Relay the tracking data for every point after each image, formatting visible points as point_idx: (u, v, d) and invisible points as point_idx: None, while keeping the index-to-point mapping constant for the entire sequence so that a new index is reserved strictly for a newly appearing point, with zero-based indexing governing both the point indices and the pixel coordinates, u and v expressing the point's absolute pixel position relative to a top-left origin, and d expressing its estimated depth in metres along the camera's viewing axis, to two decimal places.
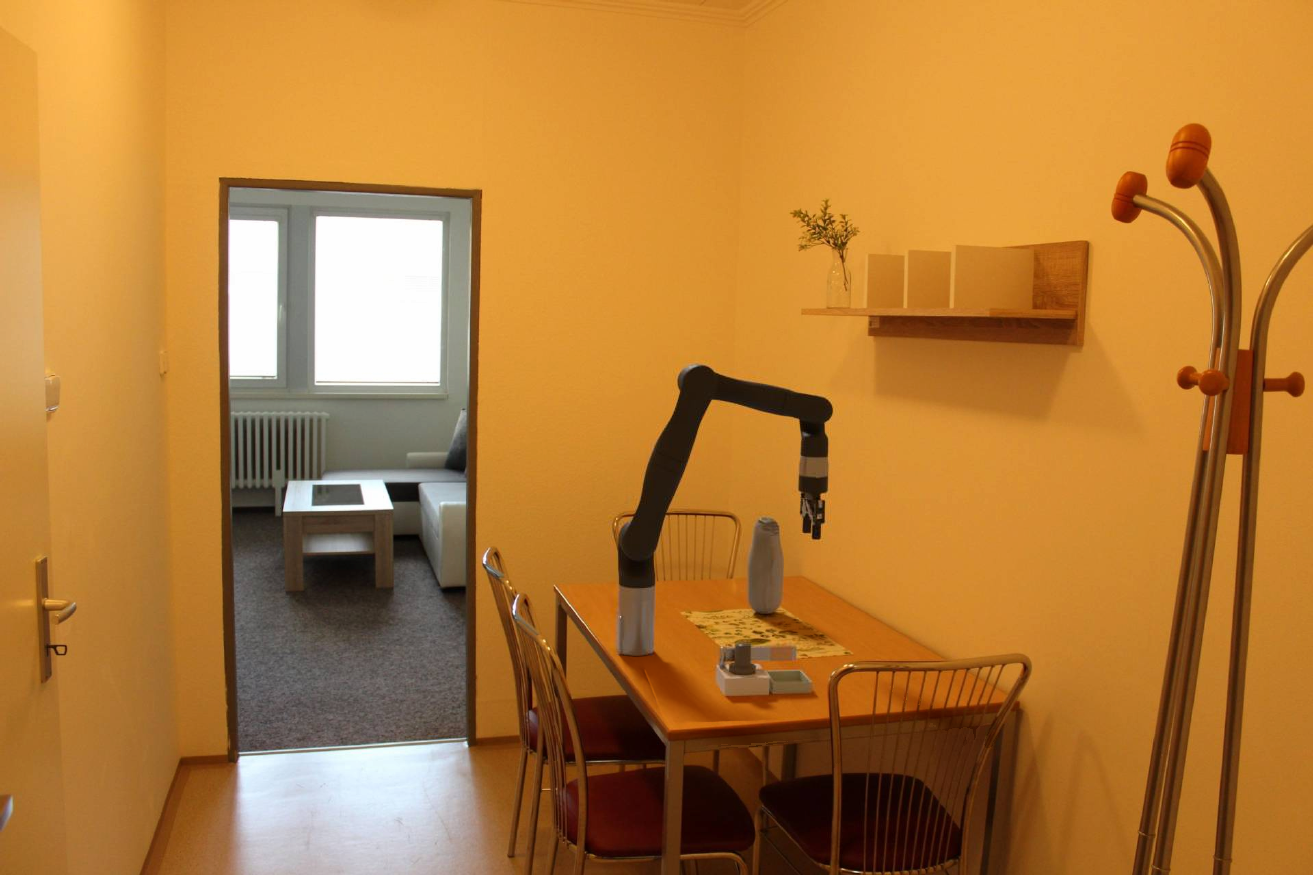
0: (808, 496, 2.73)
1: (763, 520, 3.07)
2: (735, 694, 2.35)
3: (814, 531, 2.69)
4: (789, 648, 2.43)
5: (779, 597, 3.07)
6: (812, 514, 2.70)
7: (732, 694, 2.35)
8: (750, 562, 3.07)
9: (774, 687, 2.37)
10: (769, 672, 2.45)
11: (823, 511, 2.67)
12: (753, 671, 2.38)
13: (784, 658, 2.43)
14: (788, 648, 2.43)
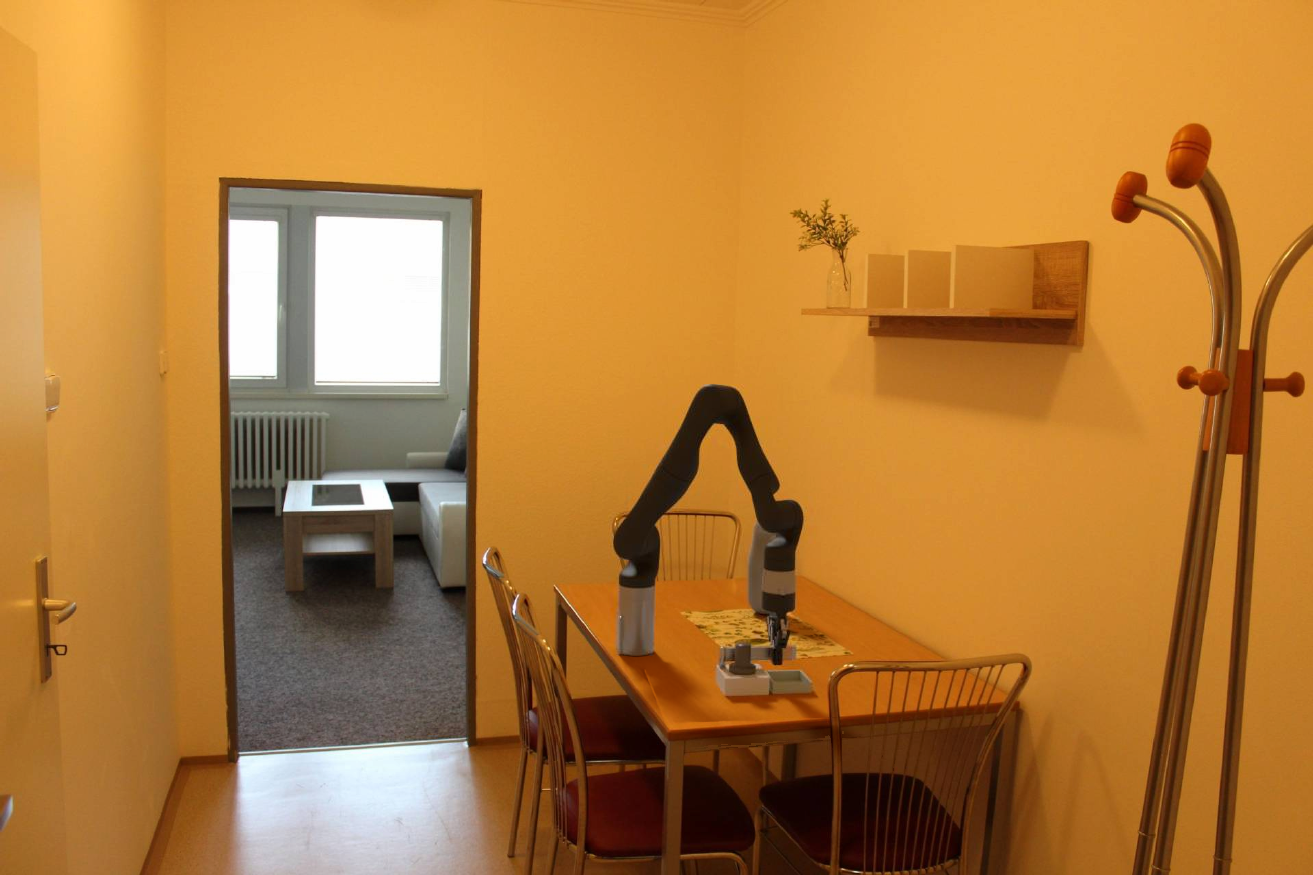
0: (773, 614, 2.40)
1: None
2: (735, 694, 2.35)
3: (775, 656, 2.40)
4: (789, 648, 2.44)
5: None
6: (774, 639, 2.39)
7: (732, 694, 2.35)
8: (750, 562, 3.07)
9: (774, 687, 2.37)
10: (769, 672, 2.45)
11: (786, 641, 2.36)
12: (753, 671, 2.38)
13: (784, 658, 2.44)
14: (788, 648, 2.44)
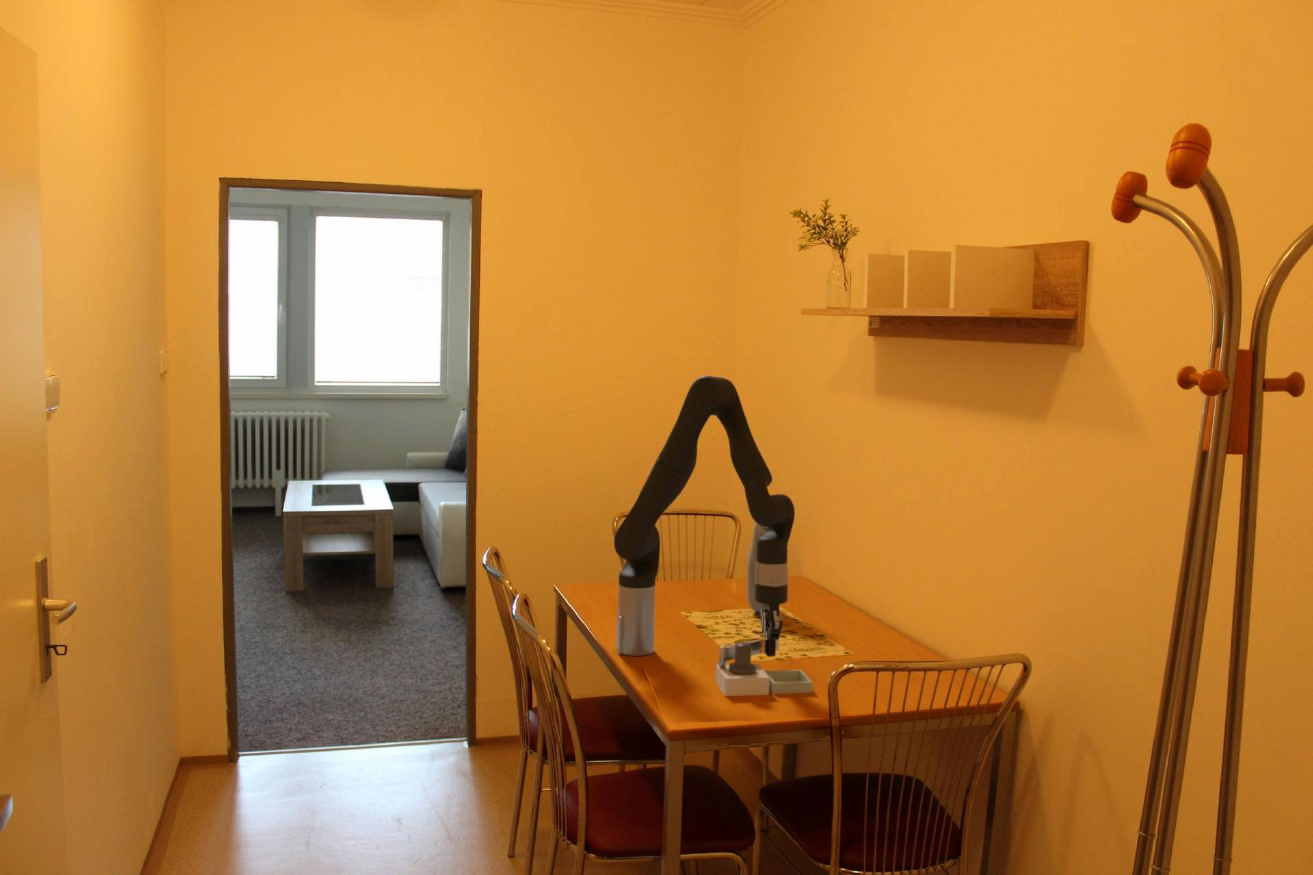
0: (766, 606, 2.46)
1: None
2: (735, 694, 2.35)
3: (768, 647, 2.46)
4: None
5: None
6: (767, 630, 2.45)
7: (732, 694, 2.35)
8: (750, 562, 3.07)
9: (774, 687, 2.37)
10: (769, 672, 2.45)
11: (779, 632, 2.42)
12: (753, 671, 2.38)
13: None
14: None
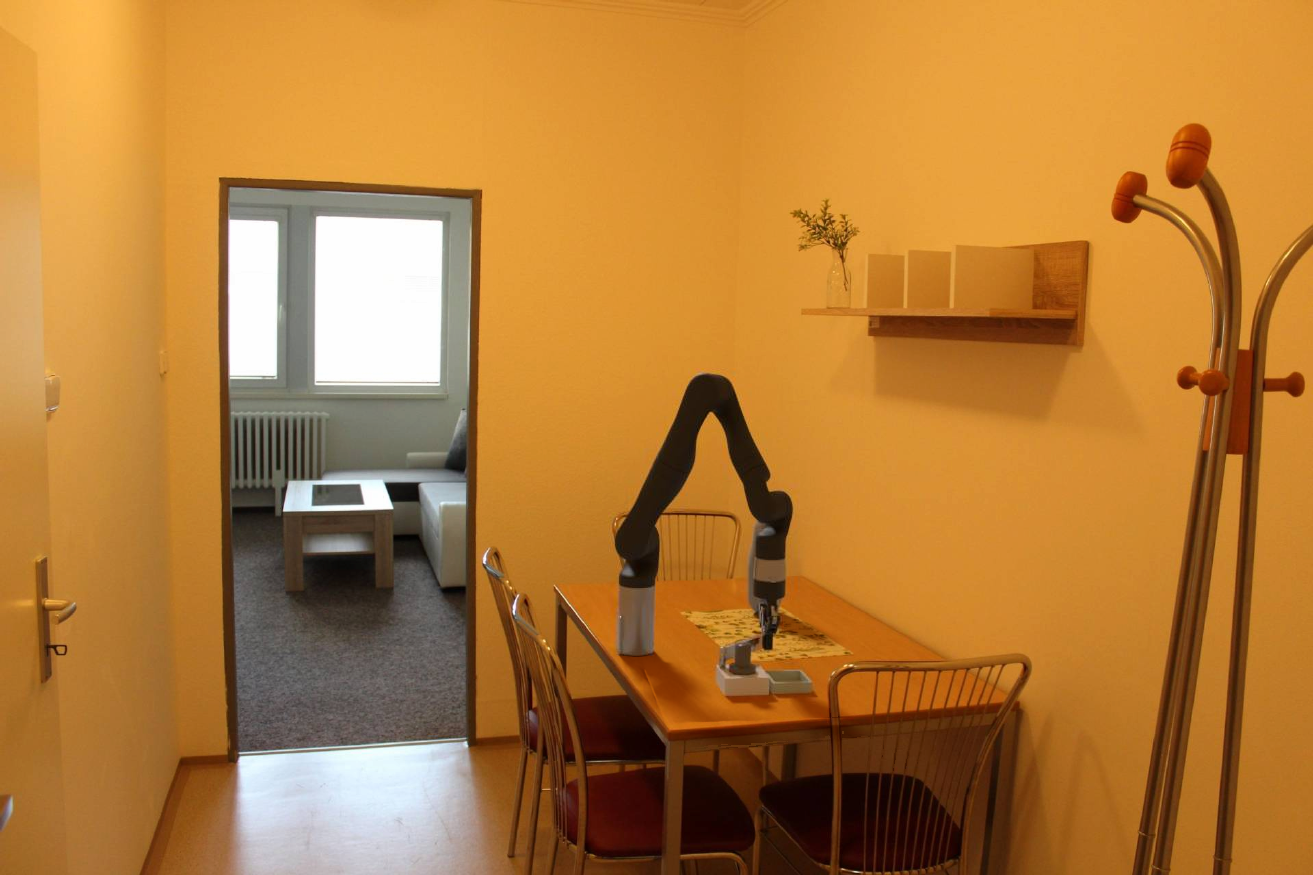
0: (764, 601, 2.49)
1: None
2: (735, 694, 2.35)
3: (765, 641, 2.49)
4: None
5: None
6: (765, 624, 2.48)
7: (732, 694, 2.35)
8: (750, 562, 3.07)
9: (774, 687, 2.37)
10: (769, 672, 2.45)
11: (776, 626, 2.45)
12: (753, 671, 2.38)
13: None
14: None
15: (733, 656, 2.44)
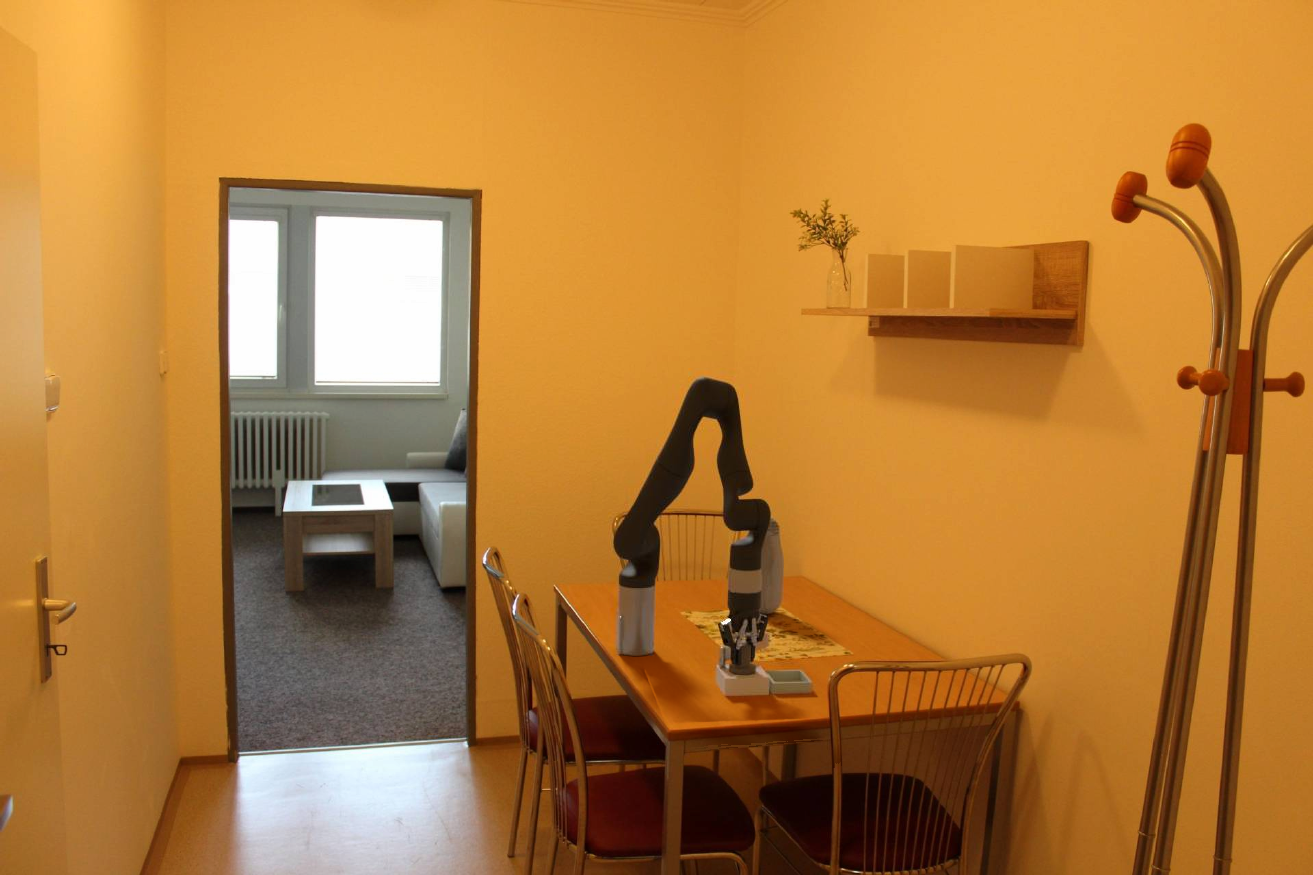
0: None
1: None
2: (735, 694, 2.35)
3: None
4: (765, 636, 2.53)
5: (779, 597, 3.07)
6: None
7: (732, 694, 2.35)
8: None
9: (774, 687, 2.37)
10: (769, 672, 2.45)
11: (726, 636, 2.35)
12: (753, 671, 2.38)
13: (762, 646, 2.52)
14: (764, 636, 2.53)
15: None
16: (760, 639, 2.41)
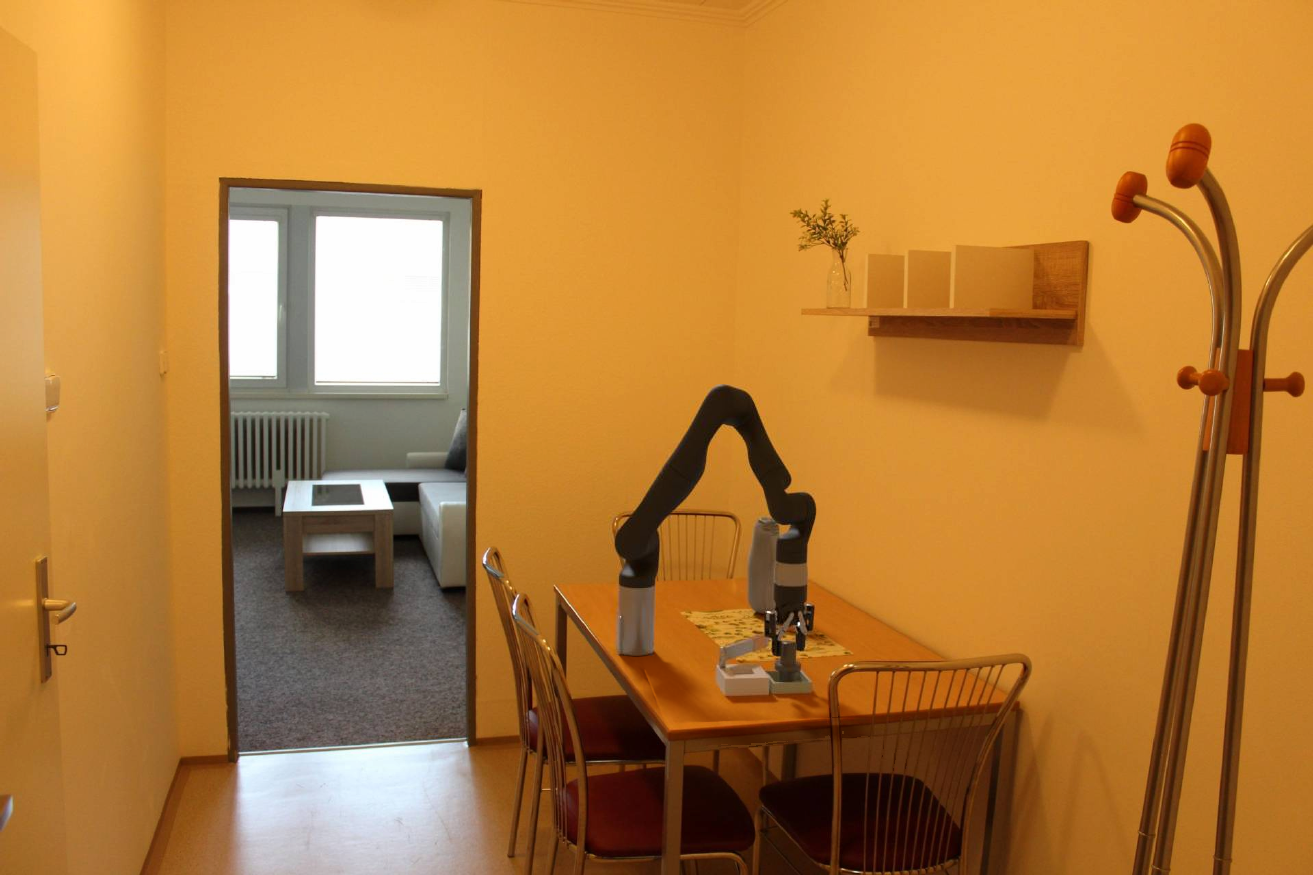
0: None
1: (763, 520, 3.07)
2: (735, 694, 2.35)
3: None
4: None
5: None
6: None
7: (732, 694, 2.35)
8: (750, 562, 3.07)
9: (774, 687, 2.37)
10: (769, 672, 2.45)
11: (770, 626, 2.36)
12: (799, 669, 2.40)
13: (762, 646, 2.52)
14: (764, 636, 2.53)
15: (733, 656, 2.44)
16: (810, 629, 2.43)
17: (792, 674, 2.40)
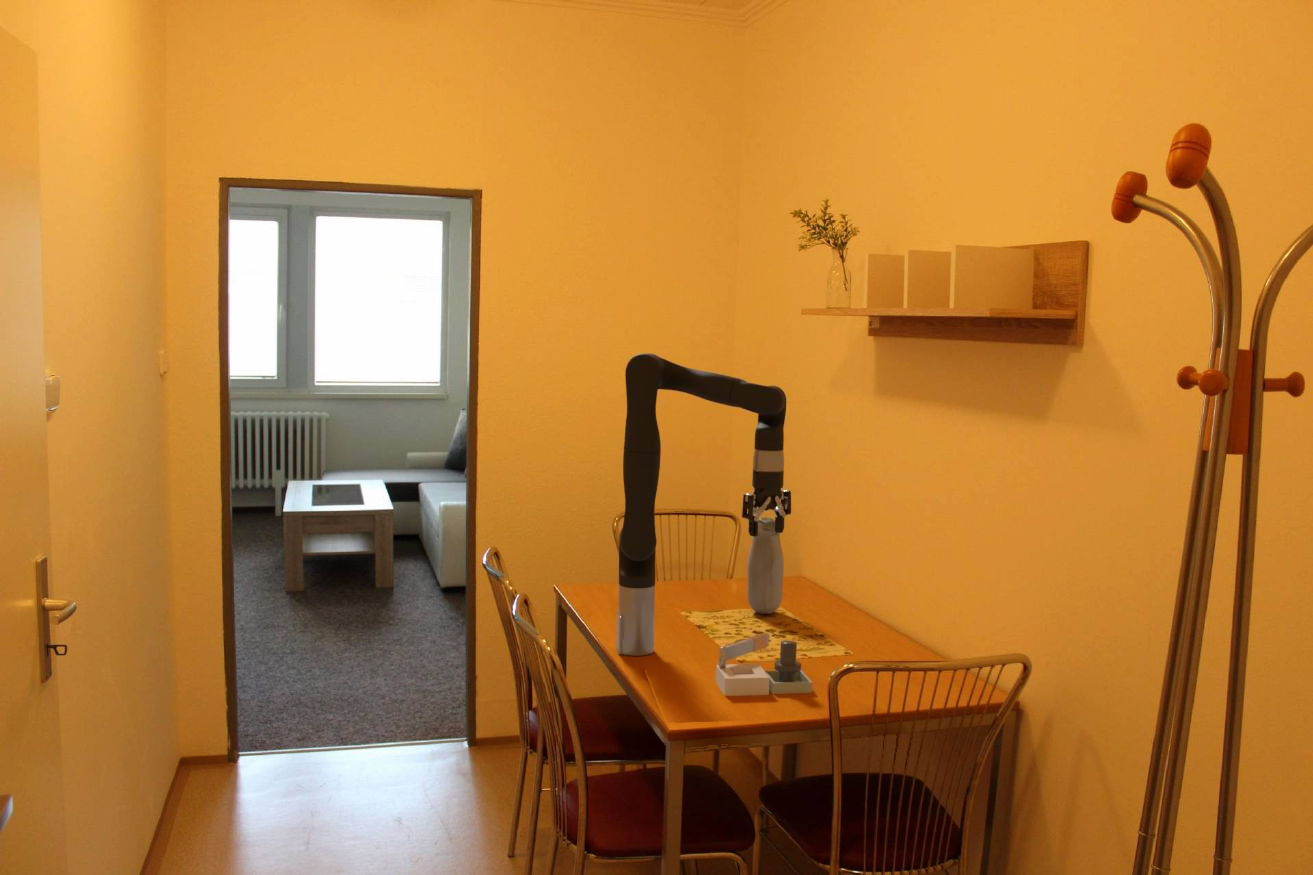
0: None
1: (763, 520, 3.07)
2: (735, 694, 2.35)
3: None
4: (765, 636, 2.53)
5: (779, 597, 3.07)
6: None
7: (732, 694, 2.35)
8: (750, 562, 3.07)
9: (774, 687, 2.37)
10: (769, 672, 2.45)
11: (748, 506, 2.55)
12: (799, 669, 2.40)
13: (762, 646, 2.52)
14: (764, 636, 2.53)
15: (733, 656, 2.44)
16: (789, 512, 2.63)
17: (792, 674, 2.40)
